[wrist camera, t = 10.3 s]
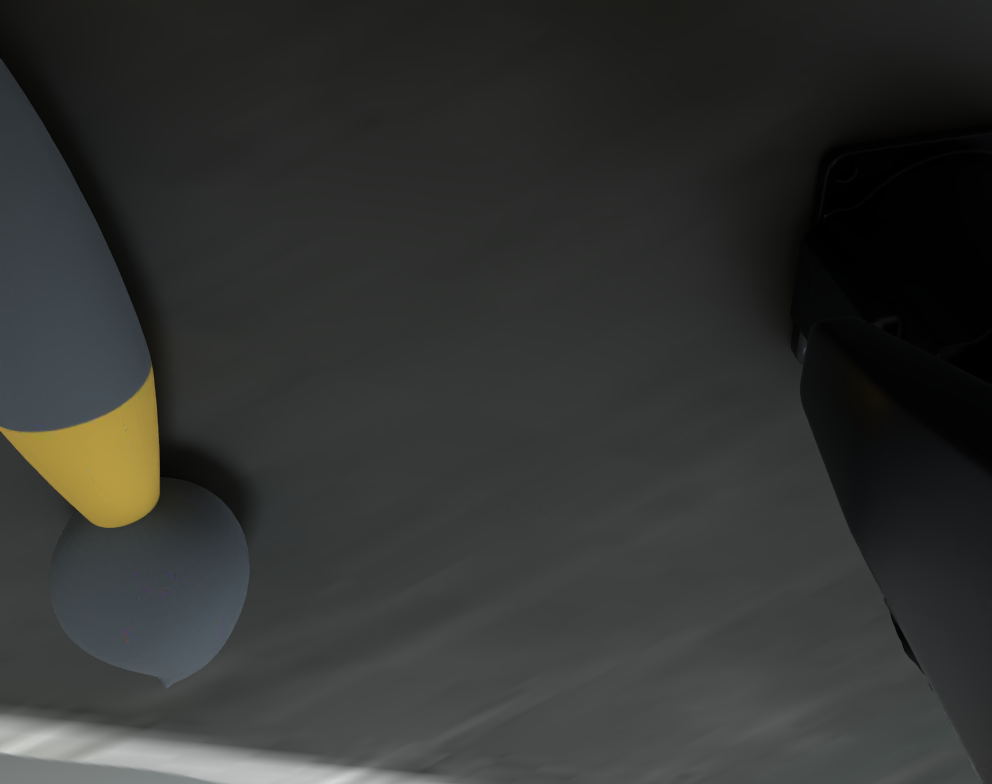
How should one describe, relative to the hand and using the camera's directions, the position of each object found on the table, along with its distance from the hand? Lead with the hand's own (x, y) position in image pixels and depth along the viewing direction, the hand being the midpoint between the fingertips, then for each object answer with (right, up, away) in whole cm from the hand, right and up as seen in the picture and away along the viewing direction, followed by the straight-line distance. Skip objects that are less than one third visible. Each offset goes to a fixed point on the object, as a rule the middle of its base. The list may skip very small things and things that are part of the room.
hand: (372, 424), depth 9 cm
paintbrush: (-9, +1, +15) cm, 17 cm away
